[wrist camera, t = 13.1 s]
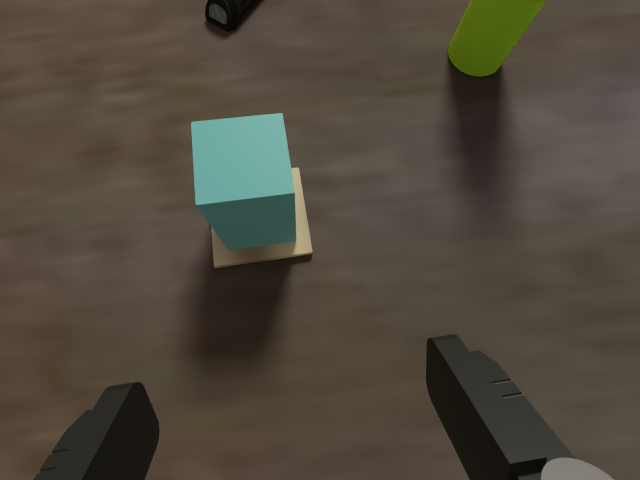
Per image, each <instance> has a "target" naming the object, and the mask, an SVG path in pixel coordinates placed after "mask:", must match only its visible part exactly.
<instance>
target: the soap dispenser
mask: <svg viewBox="0 0 640 480" xmlns="http://www.w3.org/2000/svg"><path fill="white" fill-rule="evenodd" d="M545 2H546V0H471V1H470V3H469V5H468V7H467V9H466V11H465V13H464V16H463V18H462V20H461V22H460V24H459V26H458V28H457V30H456V32H455V34H454V36H453V38H452V40H451V42H450V44H449V47H448V56H449V59H450V61H451V62H452V64H453V65H454V66H455V67H456V68H457V69H459V70H460V71H462V72H463V73H465V74H468V75H471V76H477V77H483V76H488V75H491V74H493V73H495V72H496V71H497V70H498V69H499V67H500V66H501V64H502V63H503V62H504V60H505V59H506V57H507V56H508V54H509V53H510V52H511V50H512V49H513V47H514V46H515V44H516V43H517V42H518V40H519V39H520V37H521V36H522V34H523V33H524V32H525V30H526V29H527V27H528V26H529V24H530V23H531V22H532V20H533V19H534V17H535V16H536V14H537V13H538V12H539V10H540V9H541V7H542V6H543V4H544V3H545Z"/></svg>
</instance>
